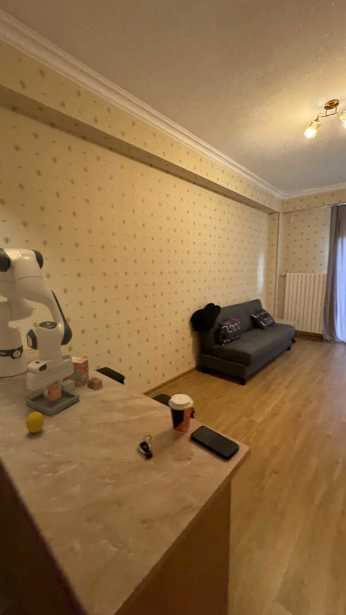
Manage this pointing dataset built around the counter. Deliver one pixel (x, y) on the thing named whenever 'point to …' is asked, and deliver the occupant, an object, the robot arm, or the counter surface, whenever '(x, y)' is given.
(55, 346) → the robot arm
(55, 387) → the terracotta brick
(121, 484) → the counter surface
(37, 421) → the lemon
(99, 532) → the counter surface
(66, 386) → the sage brick
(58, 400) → the charcoal tray
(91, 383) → the walnut brick
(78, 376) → the stack of blocks
